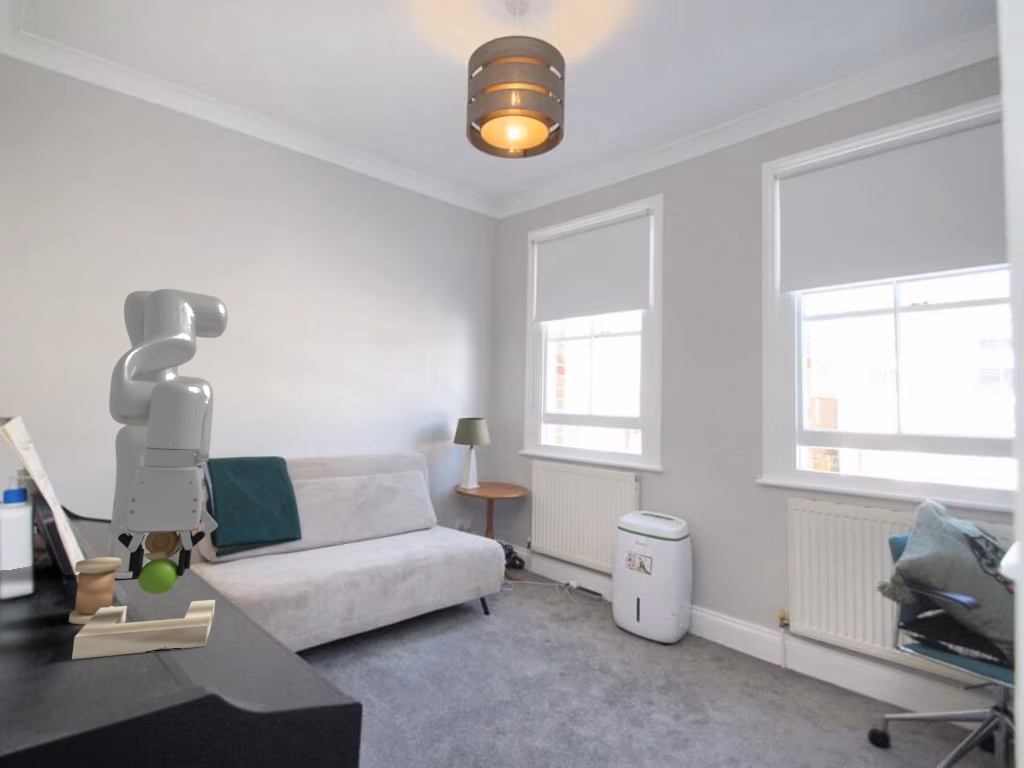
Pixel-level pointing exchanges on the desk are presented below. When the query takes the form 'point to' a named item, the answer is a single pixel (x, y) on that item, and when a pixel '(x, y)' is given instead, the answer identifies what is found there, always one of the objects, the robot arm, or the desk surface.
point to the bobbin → (94, 587)
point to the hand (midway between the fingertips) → (159, 573)
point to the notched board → (142, 632)
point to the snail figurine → (160, 562)
